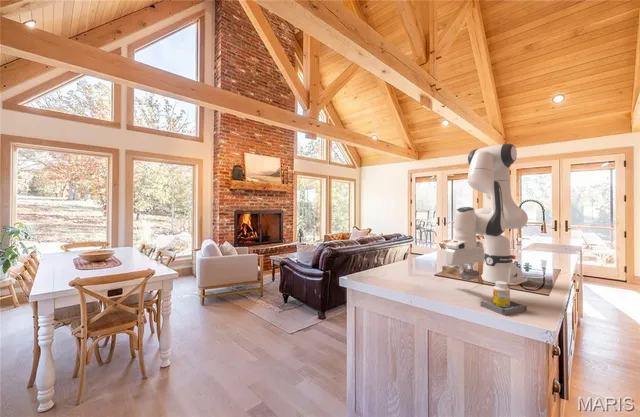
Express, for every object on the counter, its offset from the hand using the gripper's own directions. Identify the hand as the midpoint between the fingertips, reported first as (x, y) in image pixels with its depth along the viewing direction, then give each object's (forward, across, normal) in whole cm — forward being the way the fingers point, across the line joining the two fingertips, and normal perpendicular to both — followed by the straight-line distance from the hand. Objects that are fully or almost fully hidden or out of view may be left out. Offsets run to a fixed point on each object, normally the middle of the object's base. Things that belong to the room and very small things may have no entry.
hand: (465, 272), depth 128 cm
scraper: (+2, 0, -4) cm, 5 cm away
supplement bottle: (+10, +1, +18) cm, 20 cm away
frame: (+10, +1, +18) cm, 21 cm away
